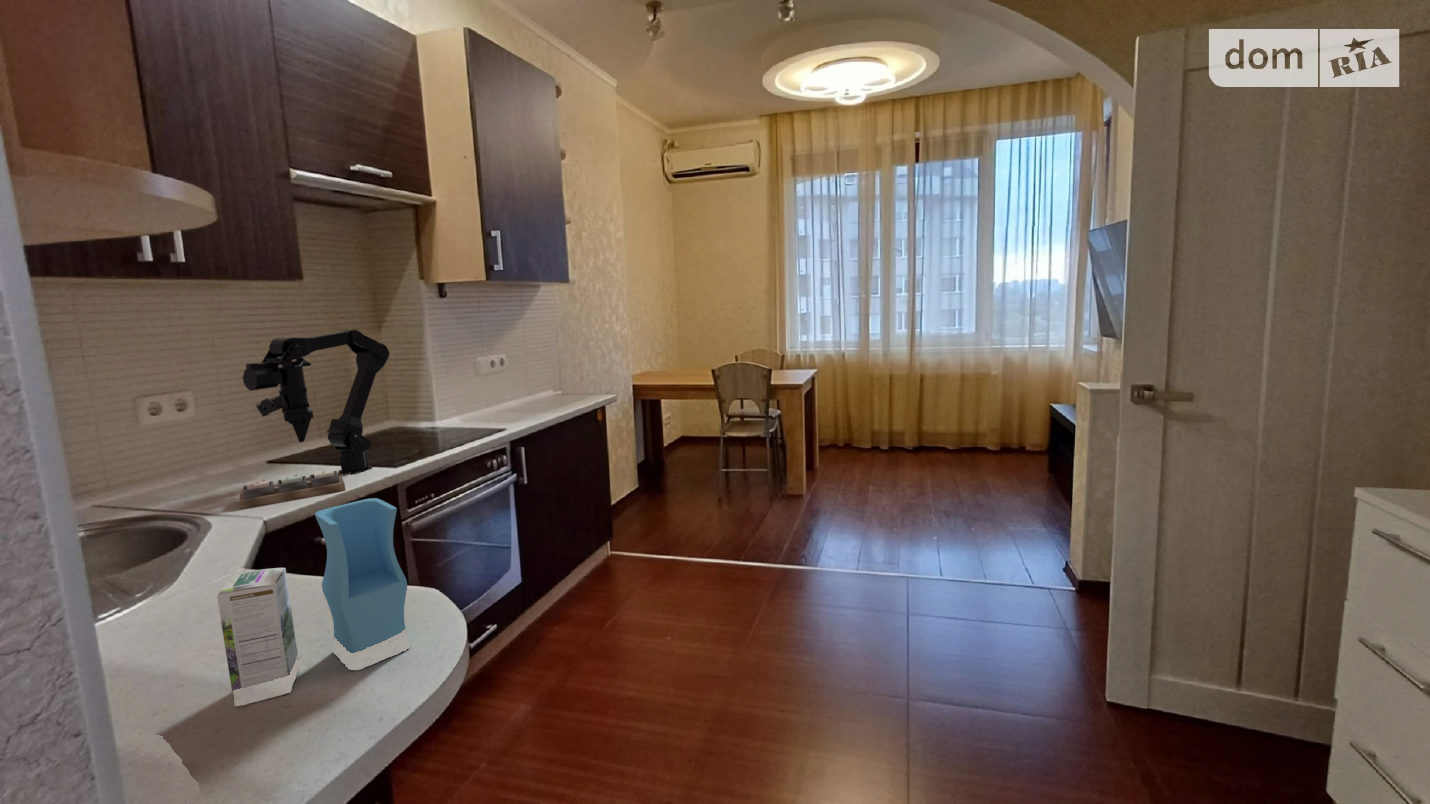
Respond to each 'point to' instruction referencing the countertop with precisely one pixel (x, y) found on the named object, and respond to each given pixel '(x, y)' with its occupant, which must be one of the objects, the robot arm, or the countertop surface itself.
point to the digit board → (290, 491)
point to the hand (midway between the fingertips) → (301, 441)
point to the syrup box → (257, 627)
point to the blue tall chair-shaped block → (362, 573)
